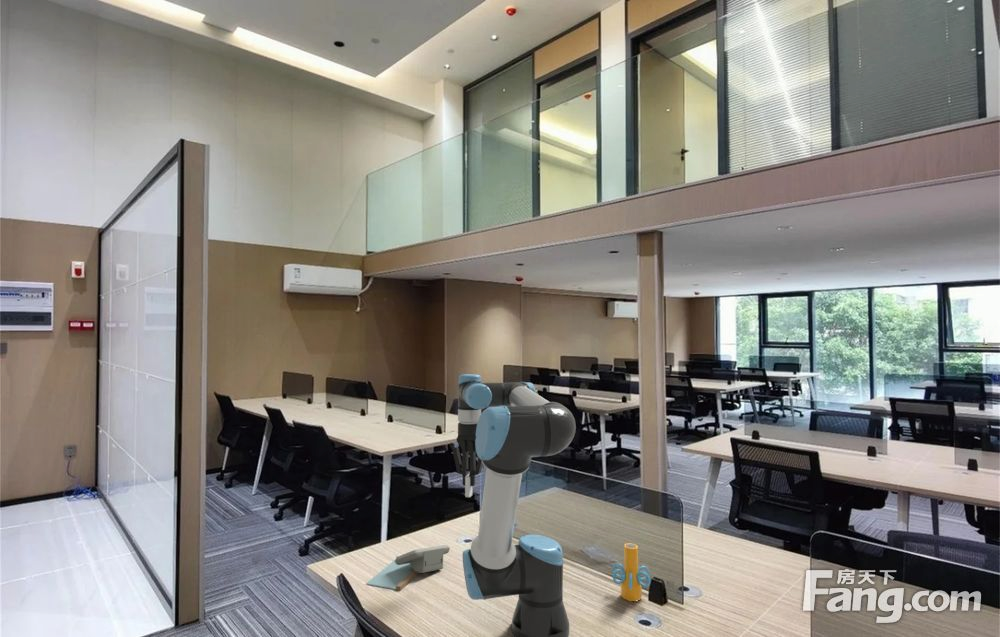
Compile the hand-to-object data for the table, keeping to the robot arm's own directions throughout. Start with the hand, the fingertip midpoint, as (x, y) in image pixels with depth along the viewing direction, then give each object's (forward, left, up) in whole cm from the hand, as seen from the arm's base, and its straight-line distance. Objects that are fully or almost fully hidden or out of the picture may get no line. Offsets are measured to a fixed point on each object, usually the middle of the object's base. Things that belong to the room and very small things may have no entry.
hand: (468, 495), depth 158 cm
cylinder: (-50, -5, -26) cm, 57 cm away
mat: (+23, +5, -26) cm, 35 cm away
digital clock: (+12, +1, -21) cm, 24 cm away
